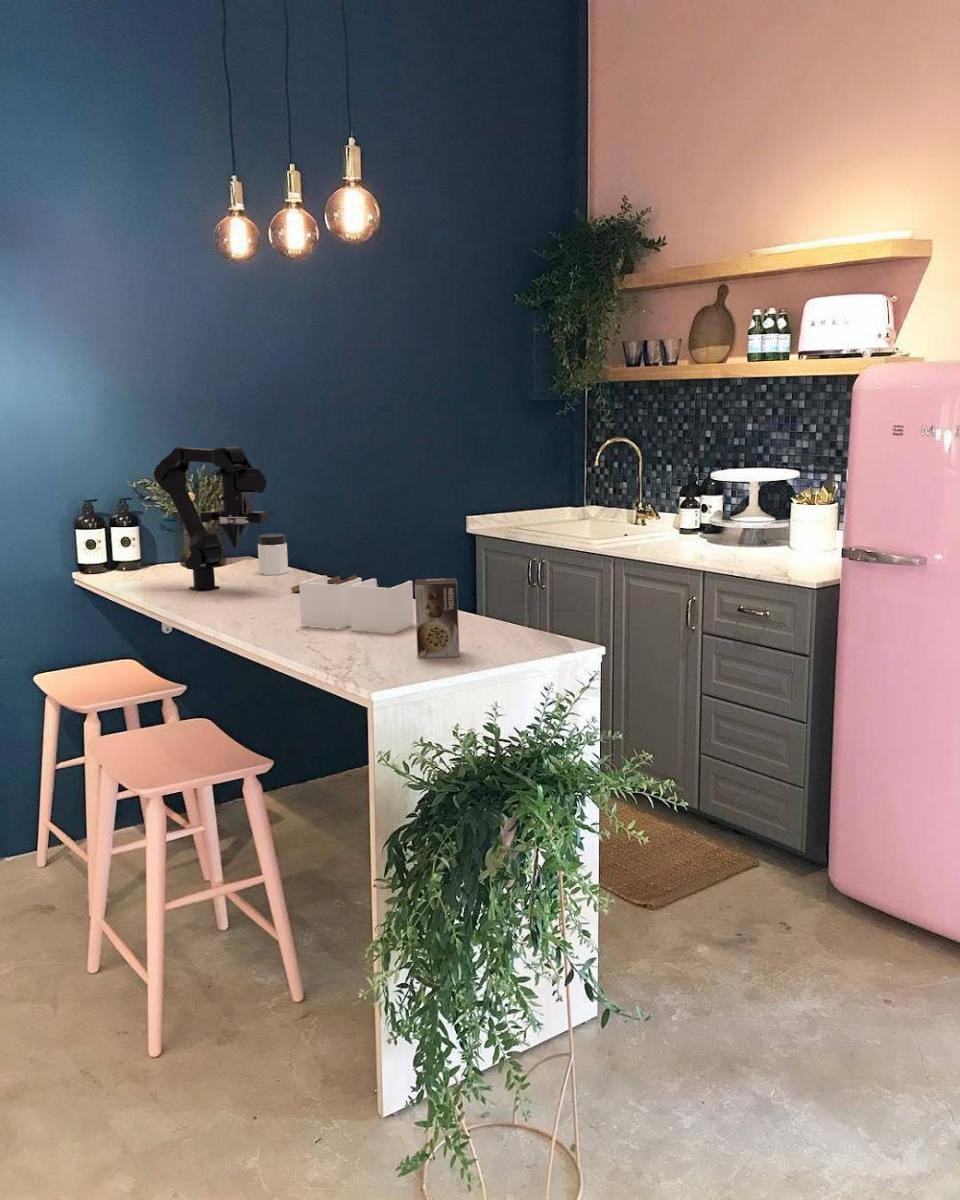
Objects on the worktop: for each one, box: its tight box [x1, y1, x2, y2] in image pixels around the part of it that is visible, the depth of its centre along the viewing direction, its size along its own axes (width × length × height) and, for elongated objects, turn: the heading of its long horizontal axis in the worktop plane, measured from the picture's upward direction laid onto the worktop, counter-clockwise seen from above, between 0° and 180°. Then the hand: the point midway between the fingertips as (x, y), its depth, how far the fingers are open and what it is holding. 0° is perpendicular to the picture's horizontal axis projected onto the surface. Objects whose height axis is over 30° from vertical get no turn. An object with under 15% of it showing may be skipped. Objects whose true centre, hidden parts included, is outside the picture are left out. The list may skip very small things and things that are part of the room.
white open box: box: [298, 575, 415, 635], centre depth 271 cm, size 25×11×11 cm, turn 66°
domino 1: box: [290, 584, 300, 594], centre depth 318 cm, size 2×5×9 cm
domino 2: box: [327, 575, 342, 585], centre depth 316 cm, size 2×5×9 cm
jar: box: [257, 533, 289, 576], centre depth 352 cm, size 9×8×12 cm
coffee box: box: [414, 577, 460, 659], centre depth 239 cm, size 9×6×16 cm
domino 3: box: [333, 574, 358, 585], centre depth 315 cm, size 2×5×9 cm
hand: (235, 547), depth 317 cm, fingers closed
